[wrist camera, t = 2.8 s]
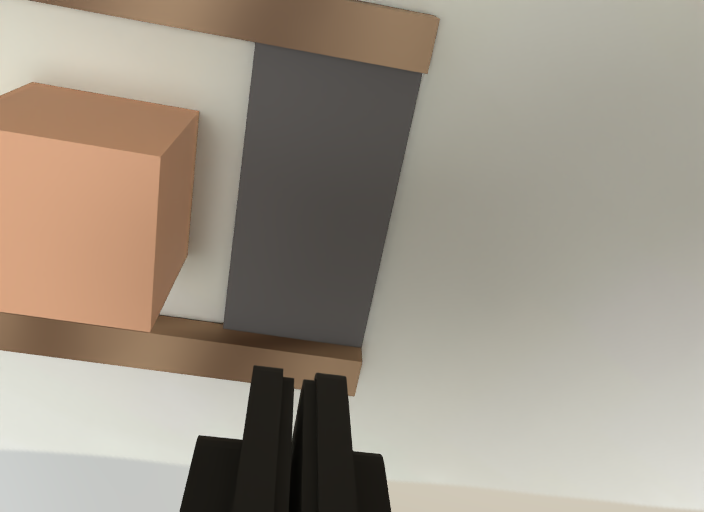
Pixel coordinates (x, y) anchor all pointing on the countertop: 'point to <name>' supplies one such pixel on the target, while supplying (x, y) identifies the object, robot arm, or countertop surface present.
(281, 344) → the channel
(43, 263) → the block
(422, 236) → the countertop surface
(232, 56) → the countertop surface
